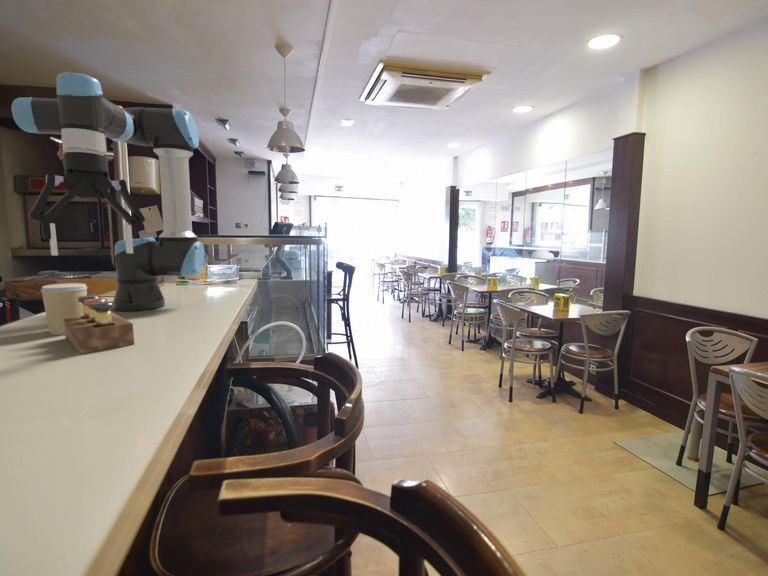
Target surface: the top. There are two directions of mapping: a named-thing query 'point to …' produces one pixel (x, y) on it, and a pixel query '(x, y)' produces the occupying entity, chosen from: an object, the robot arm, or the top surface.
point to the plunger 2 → (102, 313)
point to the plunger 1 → (85, 308)
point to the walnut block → (98, 334)
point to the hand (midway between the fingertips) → (94, 254)
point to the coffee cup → (62, 304)
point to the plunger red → (91, 311)
